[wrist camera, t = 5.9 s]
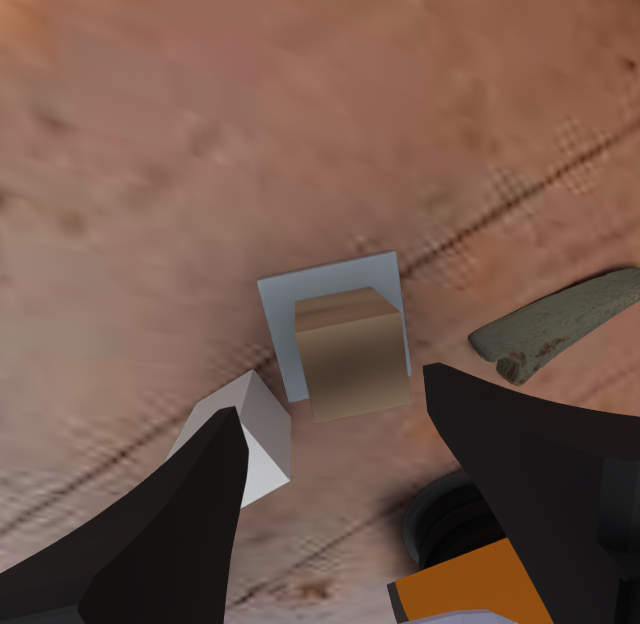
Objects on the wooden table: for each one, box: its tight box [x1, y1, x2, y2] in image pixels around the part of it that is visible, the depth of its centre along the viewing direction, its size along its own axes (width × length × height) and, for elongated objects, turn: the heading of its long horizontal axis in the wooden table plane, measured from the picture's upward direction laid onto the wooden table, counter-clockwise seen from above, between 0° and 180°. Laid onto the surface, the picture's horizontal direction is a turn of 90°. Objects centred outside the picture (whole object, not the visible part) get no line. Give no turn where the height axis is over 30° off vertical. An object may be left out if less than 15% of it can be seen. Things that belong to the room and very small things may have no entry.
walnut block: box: [295, 286, 411, 424], centre depth 18 cm, size 5×5×6 cm
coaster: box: [257, 250, 412, 403], centre depth 21 cm, size 9×9×1 cm
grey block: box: [164, 369, 291, 508], centre depth 20 cm, size 5×5×6 cm
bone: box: [469, 267, 640, 386], centre depth 22 cm, size 13×5×4 cm, turn 118°
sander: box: [387, 470, 554, 624], centre depth 22 cm, size 15×25×13 cm, turn 113°
